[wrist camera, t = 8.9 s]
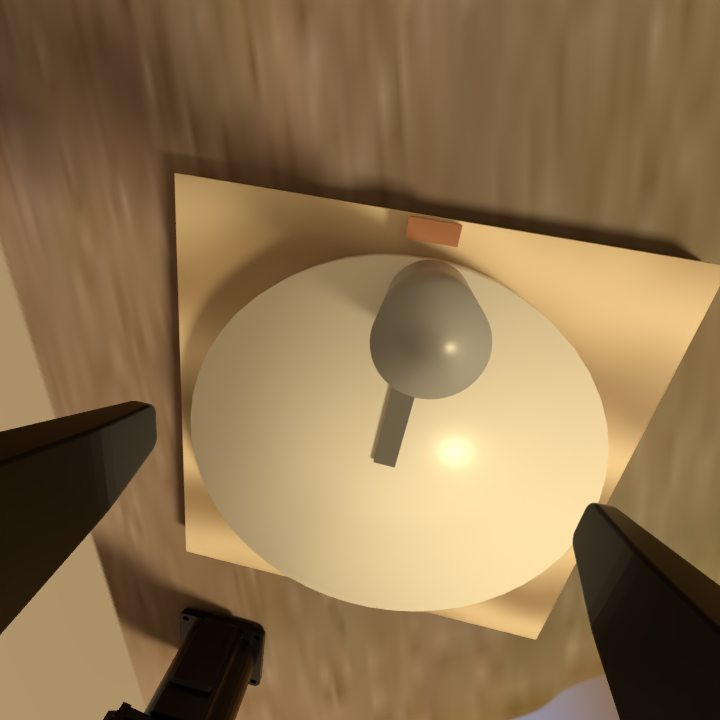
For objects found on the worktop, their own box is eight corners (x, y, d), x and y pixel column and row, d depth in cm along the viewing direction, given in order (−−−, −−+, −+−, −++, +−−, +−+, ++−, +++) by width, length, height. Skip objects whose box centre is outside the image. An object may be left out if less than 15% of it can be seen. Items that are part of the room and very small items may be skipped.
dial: (509, 622, 22) (540, 773, 16) (200, 535, 24) (125, 646, 18) (679, 308, 15) (847, 377, 9) (214, 206, 16) (94, 207, 10)
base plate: (529, 614, 24) (540, 657, 22) (198, 532, 26) (176, 564, 24) (703, 261, 16) (750, 270, 13) (193, 175, 18) (159, 171, 15)
